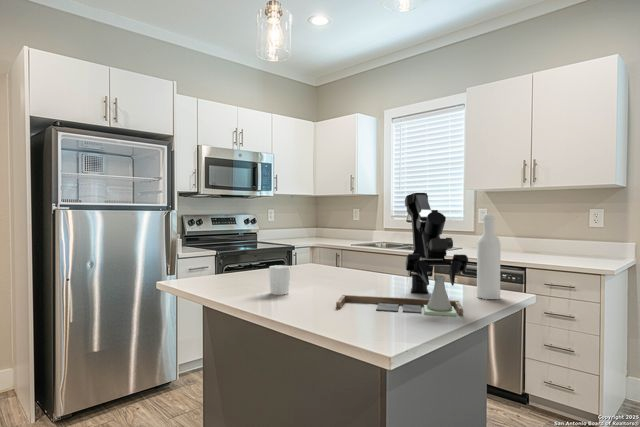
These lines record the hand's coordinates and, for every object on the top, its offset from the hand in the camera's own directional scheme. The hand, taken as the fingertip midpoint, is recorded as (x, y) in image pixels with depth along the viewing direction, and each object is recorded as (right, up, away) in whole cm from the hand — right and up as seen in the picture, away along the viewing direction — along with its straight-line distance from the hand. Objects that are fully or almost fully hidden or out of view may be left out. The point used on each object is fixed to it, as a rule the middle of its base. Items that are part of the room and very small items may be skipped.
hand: (440, 284), depth 126 cm
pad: (0, -9, +1) cm, 9 cm away
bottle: (+24, -9, +23) cm, 34 cm away
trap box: (-12, -8, +6) cm, 16 cm away
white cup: (-52, -8, +29) cm, 60 cm away
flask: (0, -8, +2) cm, 8 cm away
